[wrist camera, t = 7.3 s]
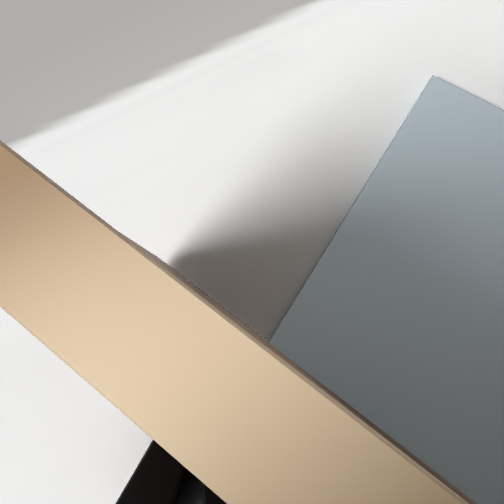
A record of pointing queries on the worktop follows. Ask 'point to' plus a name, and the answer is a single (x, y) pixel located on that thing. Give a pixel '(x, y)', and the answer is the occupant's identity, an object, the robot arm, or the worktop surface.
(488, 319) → the card
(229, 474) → the fence swing panel
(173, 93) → the worktop surface
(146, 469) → the robot arm
